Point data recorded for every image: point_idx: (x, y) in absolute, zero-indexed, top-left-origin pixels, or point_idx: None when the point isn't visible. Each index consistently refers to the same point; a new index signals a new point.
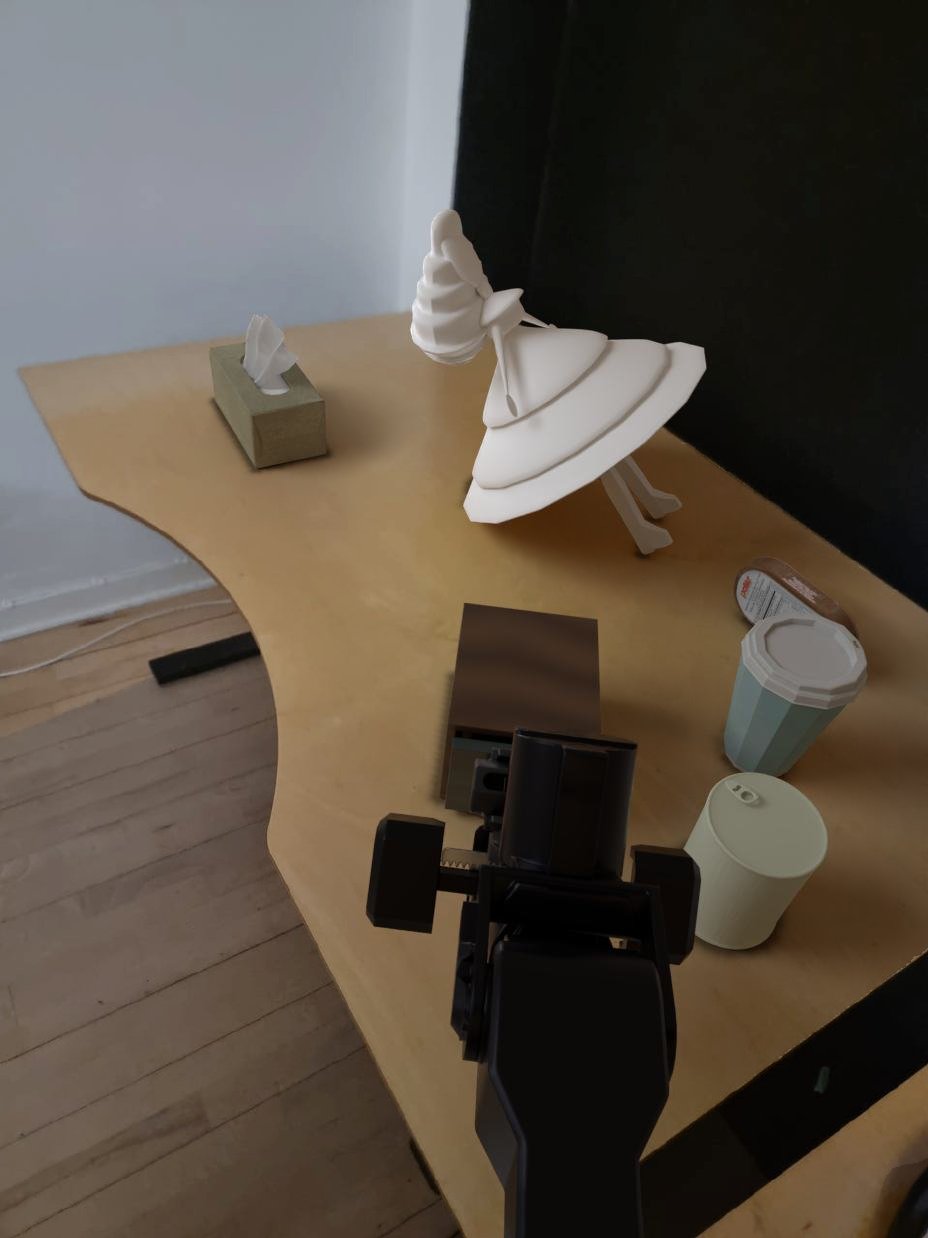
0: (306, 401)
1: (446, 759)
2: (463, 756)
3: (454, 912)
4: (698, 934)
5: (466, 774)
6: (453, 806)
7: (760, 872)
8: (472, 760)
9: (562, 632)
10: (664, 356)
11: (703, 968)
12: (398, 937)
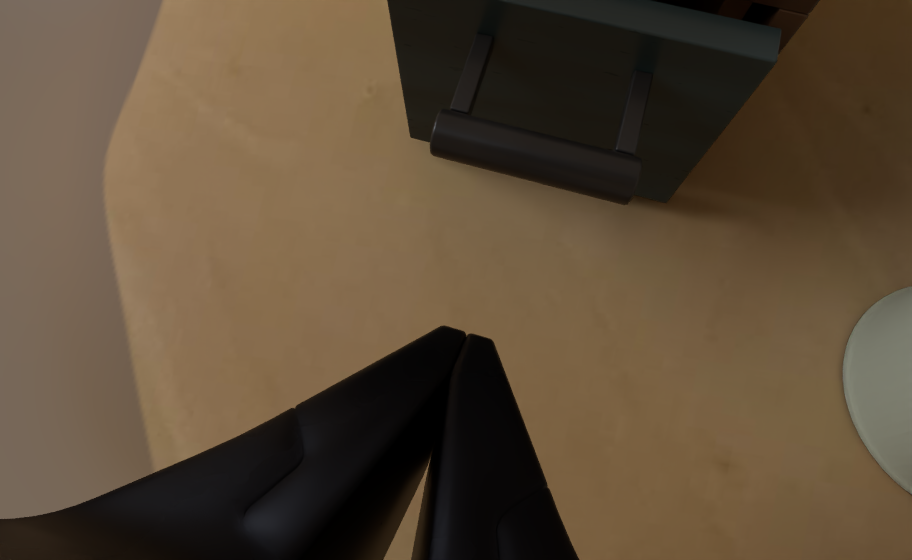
0: None
1: None
2: (417, 4)
3: (387, 344)
4: (897, 477)
5: (435, 60)
6: (425, 134)
7: None
8: (441, 18)
9: None
10: None
11: (891, 550)
12: (268, 377)
